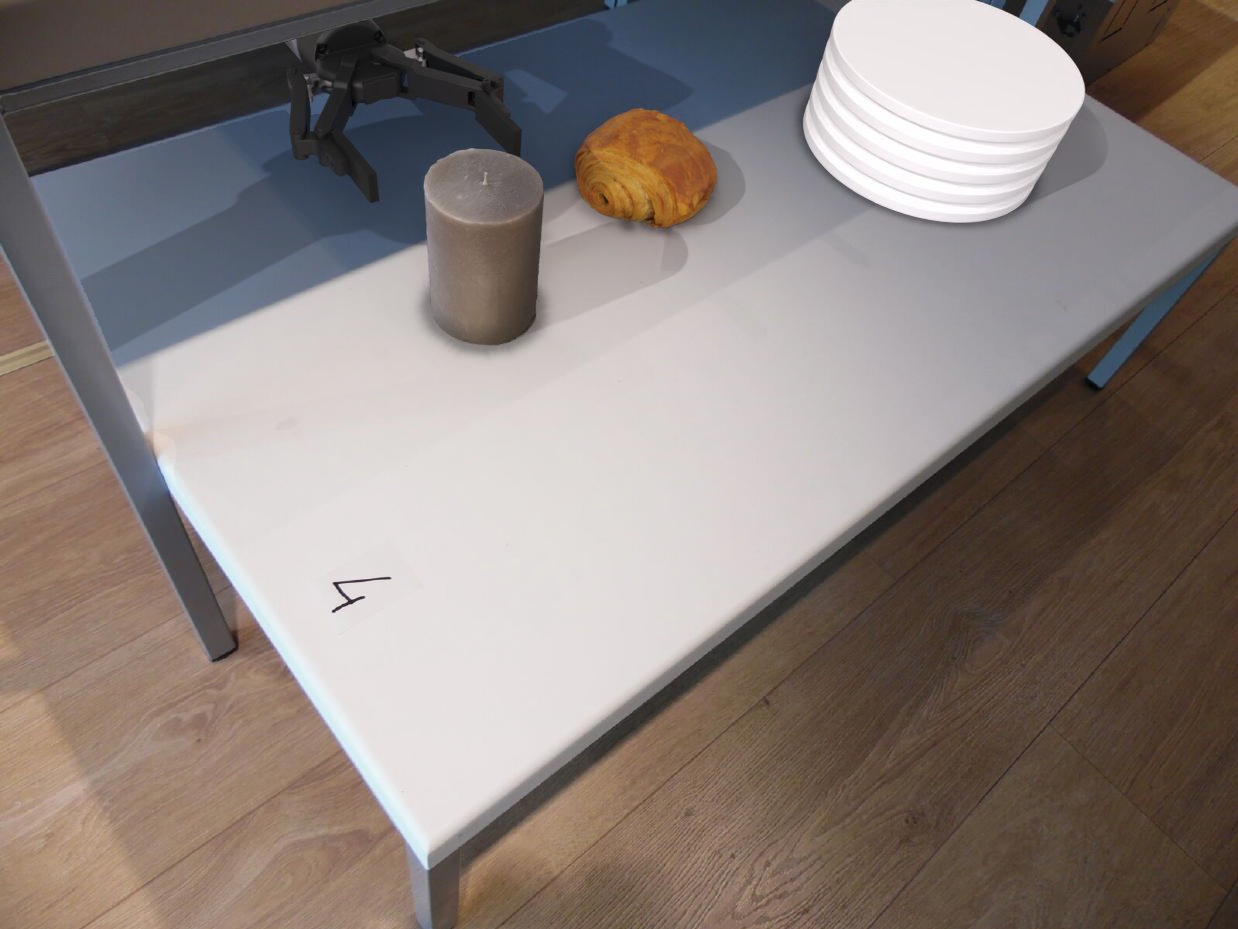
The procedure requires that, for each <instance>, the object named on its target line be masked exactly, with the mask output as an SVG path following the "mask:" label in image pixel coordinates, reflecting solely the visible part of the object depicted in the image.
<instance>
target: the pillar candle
mask: <svg viewBox="0 0 1238 929" xmlns="http://www.w3.org/2000/svg"><path fill="white" fill-rule="evenodd" d="M544 187H545V186H544V180H543V179H542V176H541V175H540V172H538V171H537V169H536V168H535V167H534V166H533V165H531V164H530V163H529V162H527V161H526V160H524V159H522V158H521V157H517V156H514V155H511V154H508V153H507V152H506V151H502V150H501V151H500V150H496V149H488V148H485V149H484V148H473V147H472V148H467V149H460V150H455V151H454V152H452V153H449V154H448V155H446V156H445V157H442V158H438V159H437V160H436V162H435V163H433V164H432V165H431V166H430V168H429V169H428V171H427V173H426V174H425V175H424V180H423V191H424V205H425V222H426V232H425V233H426V245H427V264H428V265H427V266H428V278H429V294H430V308H431V313H432V316H433V317H432V318H433V319H434V321H435V322H436V324H437V326H438V327H439V328H440V329H441V330H442V331H443V332H445V333H446V334H447V335H449V336H451V337H452V338H455V339H456V340H458V341H461V342H465V343H468V344H474V345H483V346H486V345H487V346H488V345H489V346H496V345H502V344H506V343H510V342H511V341H514V340H516V339H517V338H520V337H522V336H523V335H525V333H526V332H528V331H529V329H530V328H531V327H532V325H533V324H534V323H535V321H536V318H537V299H538V297H539V296H538V294H539V291H538V290H539V274H540V258H541V245H542V244H541V243H542V230H543V229H542V228H543V217H544V216H543V215H544V201H545V188H544Z"/></svg>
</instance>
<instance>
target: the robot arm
mask: <svg viewBox="0 0 1238 929" xmlns="http://www.w3.org/2000/svg"><path fill="white" fill-rule="evenodd" d="M284 43H285V44H286V45H287V47H288V48H289V49H290V50H291V51H292V52H293V54H294V55H295V56H296V57H297V59H298V60H299V61H300V62H301V63H302V64H303V65H304V68H305V69H306V70H307V71H308V72H309V73H306V74H303V72H302V71H301V69H300V68H298V67H289V68H287V69H286V70H285V72H286V73H285V74H286V79H287V85H288V90H289V95H290V110H289V111H290V114H289V126H288V127H289V128H288V132H289V138H290V143H291V149H292V155H293V158H294V159H295V160H297V161H305V160H308V159H309V156H317V162H318V164H319V166H320V167H325V168H328V167H329V168H330V170H331V171H332V172H333V174H335V175H337V176H339V177H344V176H348V178H350V180H351V181H352V182H353V183H354V185H355V186H356V187H357V189H359V191H360V193H361V194H362V195H363V196H364V197H365V198H366V199H367V201H368V202H369V203H370V204H373V203H377V202H380V194H379V184H378V175H377V174H378V173H377V172H376V170H375V169H374V168H373V167H372V166H371V165H370V163H369V162H368V161H367V159H365V157H364V156H363V155H362V154H361V153H360V151H359V150H358V149H357V148H356V146H354V144H353V143H352V142H351V141H350V139H349V138H348V137H347V136H346V135H345V133H344V130H345V128H346V126H347V124H348V121H349V119H350V117H351V118H352V117H354V114H355V111H356V109H357V107H358V104H364V105H365V106H368V105H372V104H374V103H377V102H379V101H382V100H391V99H394V98H401V99H404V100H408V101H416V99H418V98H420V99H424V100H427V101H431V102H436V103H439V104H442V105H447V106H451V107H454V108H458V109H462V110H465V111H470V112H473V113H474V120H475V121H476V122H477V123H478V124H479V125H480V126H481V127H482V128H483V129H484V130H485V131H486V132H487V133H488V134H489V135H490V136H491V137H492V138H493V140H494V141H495V142H496V143H497V144H498V145H499V146H500V147H501V148H502V149H503V150H504V152H505V153H508V154H511V155H514V156H517V157H519V158H521V155H522V138H523V136H522V134H523V129H522V128H521V127H520V126H519V125H518V124H517V123H516V122H515V121H514V120H513V119H512V118H511V111H510V109H509V108H508V106H506V105H505V103H504V92H505V90H504V89H505V76H503V75H501V74H499V73H498V72H497V73H496V72H494V71H492V70H490V69H488V68H485V67H483V66H480V65H478V64H475V63H473V62H471V61H468V60H466V59H464V58H461V57H459V56H457V55H454V54H452V53H450V52H447V51H445V50H442V49H440V48H438V47H436V46H435V45H434V44H433V43H432V42H430V41H429V40H428V39H426V38H424V37H418V38H416V39H414V48H411V49H408V50H405V51H403V50H402V49H400V48H398V47H395V46H393V45H392V44H390V42H389V40H388V38H387V37H386V35H385V33H384V32H383V30H382V29H381V28H380V26H379V25H378V24H377V23H376V22H375V21H374V20H373V19H372V18H371V19H370V20H366V21H360V22H358V23H356V24H349V25H346V26H342V27H339V28H334V29H332V30H329V31H322V32H320V33H317V34H314V35H308V36H306V37H303V38H297V39H294V40H291V41H288V42H284ZM406 77H407V78H406ZM406 79H407V85H404V83H405V80H406ZM318 89H320V91H322V92H323V93H325V94H328V95H329V96H328V98H327V99H326V102H325V104H324V106H323V108H322V110H321V112H320V115H319V117H318V118H317V121H316V123H315V125H314V127H313V130H311V119H312V118H311V117H312V108H311V104H312V103H313V102H314V97H315V96H316V95H317V90H318Z"/></svg>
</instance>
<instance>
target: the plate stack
mask: <svg viewBox="0 0 1238 929" xmlns="http://www.w3.org/2000/svg"><path fill="white" fill-rule="evenodd" d="M829 34H830V35H829V37H828V40H827V42H826V46H825V48H824V52H823V55H822V59H821V62H820V64H819V66H818V70H817V73H816V77H815V80H814V83H813V85H812V88H811V92H810V95H809V99H808V102H807V104H806V106H805V111H804V113H803V118H802V130H803V135H804V138H805V140H806V143H807V145H808V148H809V149H810V151H811V152H812V154H813V155H814V157H815V159H817V161H818V163H820V165H821V166H822V167H823V168H824V169H825V170H826V171H827V172H828V173H829V174H830V175H831V176H832V177H834V178H835V179H836V180H837V181H838V182H839V183H841V184H842V185H844V186H845V187H847V188H848V189H850V190H851V191H852V192H854V193H856V194H858V195H859V196H861V197H863V198H865V199H867V200H869V201H871V202H873V203H875V204H877V205H879V206H882V207H884V208H886V209H889V210H892V211H895V212H898V213H901V214H904V215H906V216H909V217H915V218H917V219H918V218H919V219H922V220H927V221H928V220H929V221H934V222H943V223H957V224H958V223H959V224H960V223H961V224H963V223H965V224H967V223H978V222H985V221H989V220H994V219H997V218H1000V217H1003V216H1006V215H1007V214H1009V213H1011V212H1014V211H1015V210H1016V209H1018V208H1019V207H1020V206H1021V205H1023V203H1024V202H1026V200H1027V199H1028V197H1029V196H1030V194H1031V192H1032V190H1033V189H1034V188H1035V185H1036V183H1037V181H1039V179H1040V177H1041V175H1042V174H1043V172H1044V170H1045V169H1046V167H1047V164H1048V163H1049V161H1051V159H1052V157H1053V155H1054V154H1055V152H1056V150H1057V148H1058V146H1059V144H1060V142H1061V141H1062V140H1063V138H1064V137H1065V135H1066V133H1067V132H1068V129H1069V128H1070V126H1071V124H1072V122H1073V121H1074V119H1075V118H1076V116H1077V114H1078V113H1079V111H1080V109H1081V108H1082V106H1083V103H1084V101H1085V96H1086V86H1085V82H1084V79H1083V76H1082V74H1081V72H1080V69H1079V68H1078V66H1077V65H1076V63H1075V62H1074V60H1073V59H1072V58H1071V57H1070V55H1069V54H1068V53H1067V52H1066V51H1065V50H1064V49H1063V48H1062V47H1061V45H1059V44H1058V43H1057V42H1055V41H1054V40H1053V39H1052V38H1051V37H1049V36H1048V35H1047V34H1046V33H1045V32H1043V31H1041V30H1040V29H1039V28H1037V27H1035V26H1034V25H1032V24H1030V23H1028V22H1027V21H1025V20H1023V19H1021V18H1019V17H1018V16H1015V15H1014V14H1011V13H1010V12H1007V11H1006V10H1003V9H1000V8H998V7H995V6H993V5H990V4H987V3H985V2H982V1H980V0H849V2H847V3H846V4H844V6H842V7H841V8H840V10H839V11H838V13H837V14H836V16H835V17H834V20H833V24H832V26H831V30H830V33H829Z"/></svg>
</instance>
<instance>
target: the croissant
mask: <svg viewBox="0 0 1238 929" xmlns="http://www.w3.org/2000/svg"><path fill="white" fill-rule="evenodd" d="M574 156H575V157H574V164H573V165H574V168H575V174H576V184H577V188H578V189H579V193H580V194H581V196H582V198H583V199H584V200H585V202H586V203H587V204H588V205H589V206H590V207H591V208H592V209H594V210H595V211H596V212H598V213H599V214H601V215H605V216H609V217H611V218H615V219H622V220H624V221H625V222H626V223H627V222H628V220H629V221H633V222H634V223H637V222H638V223H639V222H640V223H641V222H642V223H643V222H644V221H646V225H648V226H650V227H653V228H655V229H659V228H663V229H664V228H666V229H667V228H669V227H670V226H673V225H677V224H682V223H683V222H685V221H687V220H690V219H691V218H693V216H695V215H696V214H697V213H698V212H699V211H701V210H702V208H704V207H705V206H706V204H708V202H709V199H710V196H711V194H712V193H713V192H714V188H715V185H717V184H718V171H717V167H716V164H715V162H714V160H713V157H712V154H711V152H710V150H709V149H708V147H707V146H706V145H705V144H704V143H703V142H702V141H700V139H699V138H698V137H697V136H696V135H694V134H693V132H691V131H690V130H689V128H688V127H687V126H686V124H685V123H684V122H683V121H681V120H679V119H677V118H674V117H672V116H670V115H668V114H666V113H661V112H660V110H657V109H653V110H650V109H644V108H643V107H639V108H632V109H630V110H627V111H626V112H622V113H619V114H616V115H614V116H612V117H611V118H609V119H607V120H606V121H605V122H604V123H603V124H602V125H599V126H598V127H597V128H595V129H594V130H593V131H592V132H590V133H589V134H587V135H586V136H585V138H584V139H583V140H582V142H581V143H580V145H579V147H578V149H577V151H576V152H575V155H574Z"/></svg>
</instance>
